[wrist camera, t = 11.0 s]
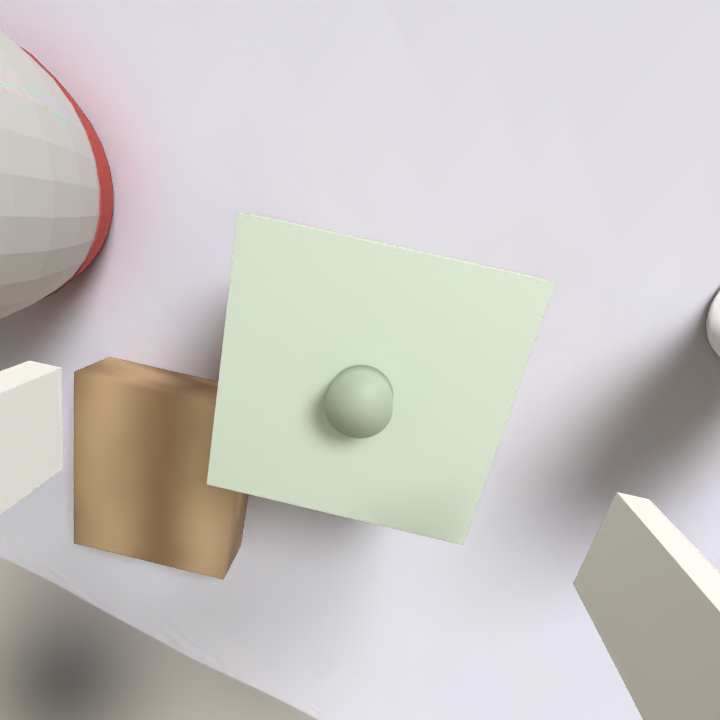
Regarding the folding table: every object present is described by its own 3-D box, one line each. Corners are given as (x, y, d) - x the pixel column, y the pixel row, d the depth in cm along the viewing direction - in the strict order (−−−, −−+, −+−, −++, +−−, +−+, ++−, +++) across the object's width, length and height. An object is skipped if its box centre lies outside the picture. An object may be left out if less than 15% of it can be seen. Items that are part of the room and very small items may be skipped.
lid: (233, 449, 20) (193, 501, 16) (264, 216, 17) (223, 210, 13) (453, 501, 20) (467, 567, 16) (528, 275, 17) (569, 287, 13)
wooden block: (105, 513, 30) (73, 543, 27) (109, 356, 26) (73, 371, 23) (240, 546, 29) (223, 579, 27) (263, 392, 26) (246, 412, 23)
